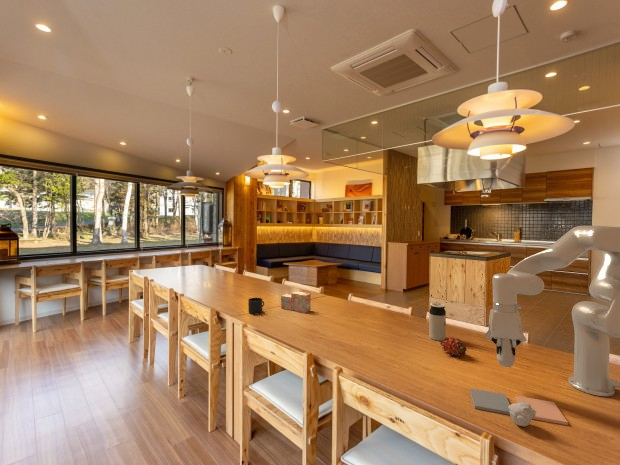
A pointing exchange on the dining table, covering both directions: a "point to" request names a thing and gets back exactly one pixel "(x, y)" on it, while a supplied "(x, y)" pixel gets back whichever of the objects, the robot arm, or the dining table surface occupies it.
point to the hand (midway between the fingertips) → (505, 355)
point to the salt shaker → (506, 353)
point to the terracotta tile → (544, 410)
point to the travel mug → (437, 322)
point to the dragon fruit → (454, 346)
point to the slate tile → (490, 401)
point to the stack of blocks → (296, 302)
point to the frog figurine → (521, 413)
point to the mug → (255, 305)
